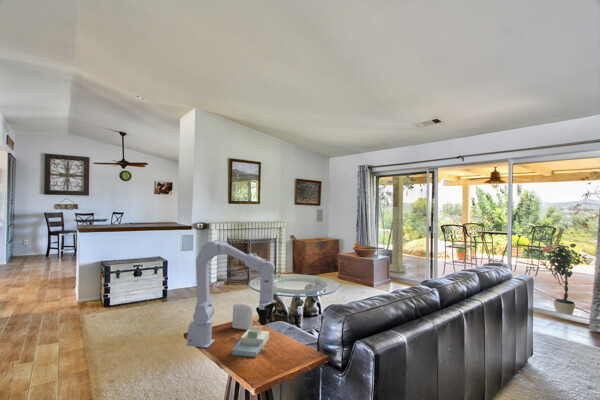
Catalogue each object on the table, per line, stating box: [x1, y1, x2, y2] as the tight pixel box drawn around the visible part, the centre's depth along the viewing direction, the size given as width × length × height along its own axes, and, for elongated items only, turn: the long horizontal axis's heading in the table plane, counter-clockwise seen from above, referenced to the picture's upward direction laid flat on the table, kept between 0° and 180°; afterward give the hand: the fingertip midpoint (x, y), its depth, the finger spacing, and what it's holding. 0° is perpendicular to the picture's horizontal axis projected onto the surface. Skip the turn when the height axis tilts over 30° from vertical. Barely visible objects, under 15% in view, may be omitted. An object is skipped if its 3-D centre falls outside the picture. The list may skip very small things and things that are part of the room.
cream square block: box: [240, 329, 270, 347], centre depth 139 cm, size 10×10×3 cm
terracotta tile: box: [251, 324, 264, 334], centre depth 141 cm, size 4×4×2 cm
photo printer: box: [231, 301, 254, 331], centre depth 155 cm, size 10×4×12 cm, turn 75°
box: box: [231, 339, 264, 358], centre depth 129 cm, size 10×10×2 cm
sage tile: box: [248, 329, 260, 338], centre depth 137 cm, size 4×4×2 cm
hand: (265, 322), depth 135 cm, fingers open, 7 cm apart
